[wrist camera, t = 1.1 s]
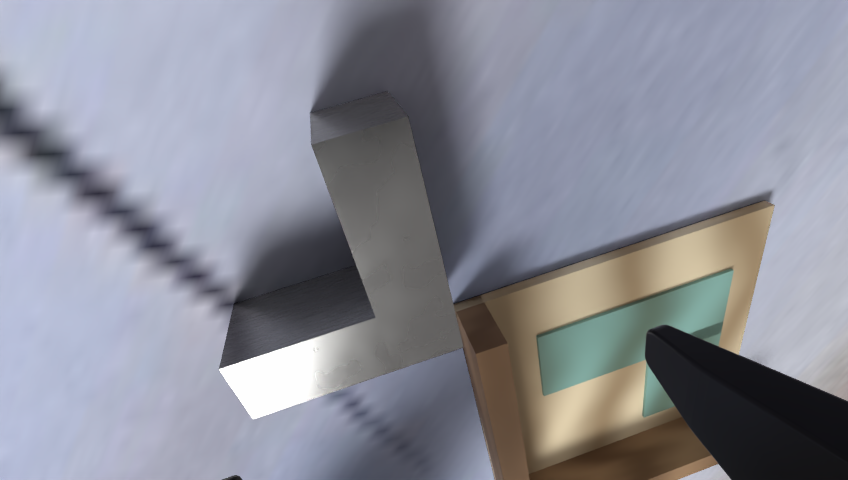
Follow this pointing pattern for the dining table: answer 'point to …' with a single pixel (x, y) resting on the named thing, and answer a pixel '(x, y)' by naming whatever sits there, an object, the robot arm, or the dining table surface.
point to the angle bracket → (351, 274)
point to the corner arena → (606, 352)
